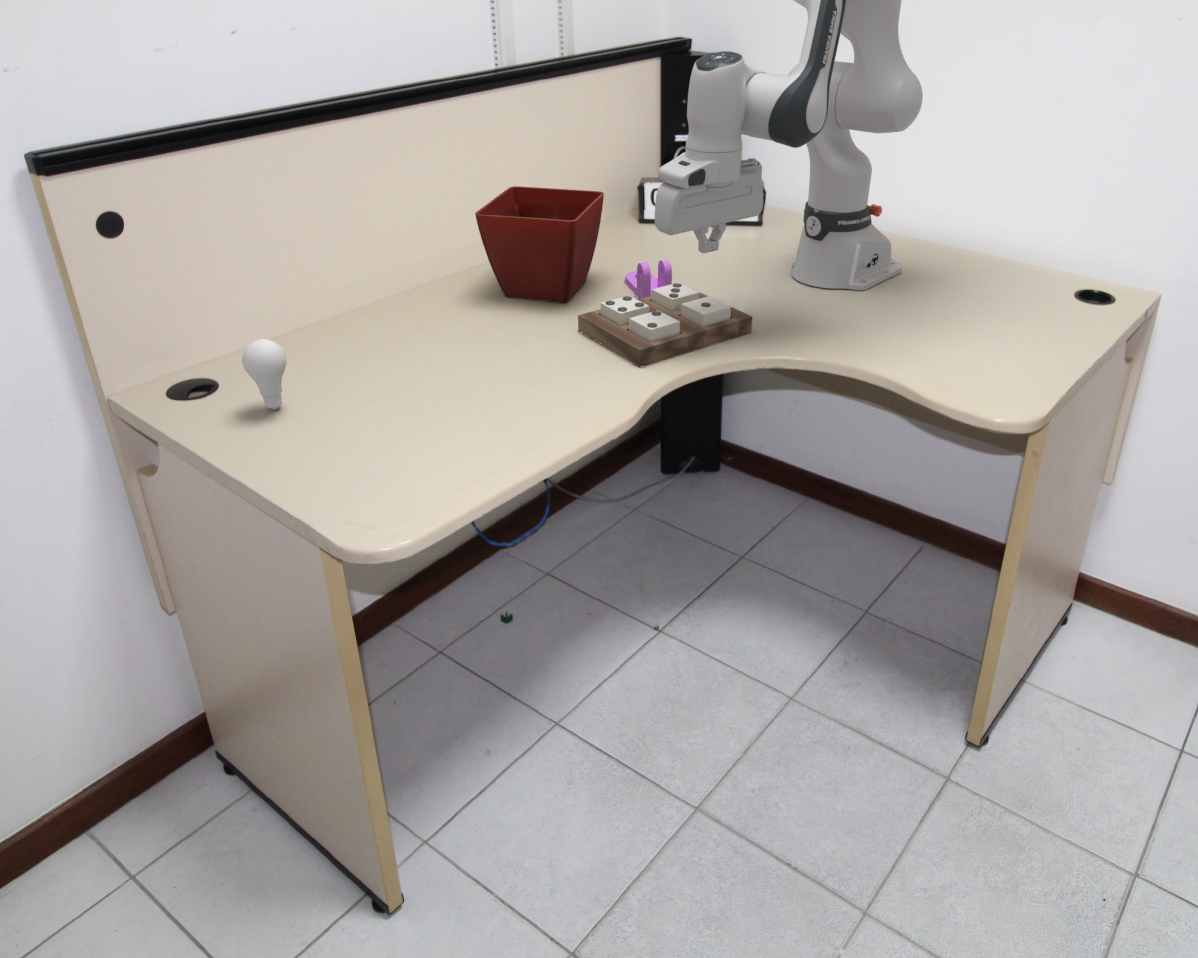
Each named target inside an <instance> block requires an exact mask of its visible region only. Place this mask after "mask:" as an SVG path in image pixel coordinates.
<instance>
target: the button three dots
mask: <svg viewBox="0 0 1198 958" xmlns="http://www.w3.org/2000/svg"><path fill="white" fill-rule="evenodd" d="M691 288H692V287H690V288H689V286H687V285H684V284H682V283H681V282H676V283H672V284H671V285H667V286H663V287H659V288H656V289H652V299H651V302H653V303H655V304H657V305H659V306H661V307H663V308H665V309H667V310H669V311H671V312H673V311H676V310H680V309H681V304H682V303H686V302H690V301H693V300H697V299H699V292H700V291H698V290H695V289H694V288H692V289H691ZM693 289H694V290H693Z"/></svg>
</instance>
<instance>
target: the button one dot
mask: <svg viewBox="0 0 1198 958" xmlns="http://www.w3.org/2000/svg"><path fill="white" fill-rule="evenodd" d="M707 296H708V297H704V298H700V299H697V300H693V301H690V302H686V303H682V304H681V317H683V318H685V319H687V320H689V321H691V322H693V323H695V324H697V325H699V326H701V327H705V326H708V325H712V324H715V323H718V322H722V321H725V320H729V319H730V313H731V307H732V306H731V305H729V306H728V304H726V303H724V302H722V301H720V300H718V299H716V300H715V298H714V297H711V296H709V295H707ZM717 300H718V301H717ZM719 301H720V302H719ZM730 306H731V307H730Z"/></svg>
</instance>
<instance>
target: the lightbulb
mask: <svg viewBox="0 0 1198 958" xmlns="http://www.w3.org/2000/svg"><path fill="white" fill-rule="evenodd" d="M241 363H242V367H243V369H244V371H245V372H246V373H247V374H248V376H249V377H250V378H251V379H252V380H253V381H254V383H255V384H256V386H257V388H258V390H259V393H260V395H261V396H262V399H263V403H264V406H265V408H267V409H270V410H273V411H274V410H277V409H279V408H280V407H281V406H282V405H283V396H282V392H283V386H282V385H283V384H282V380H283V376H284V373H285V370H286V367H287V356H286V353H285V350H284V349H283V347H282V346H281V345H279V343H277V342H275V341H274V340H271V339H266V338H261V339H255V340H254V341H252V342H250V343H249V344H248V345H247V346H246V347H245V348H244V350H243V353H242V356H241Z"/></svg>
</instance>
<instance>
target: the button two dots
mask: <svg viewBox="0 0 1198 958" xmlns="http://www.w3.org/2000/svg"><path fill="white" fill-rule="evenodd" d="M629 331H630V332H632V333H633V334H635V335H637V336H639V337H641V338H642V339H644V340H646V341H648V342H650V343H651V342H654V341H657V340H661V339H664V338H668V337H671V336H674V335H678V334H680V321H678V320H676V319H674V318H672V317H670V316H668V315H666V314H664V313H662V312H660V311H658V310H657V311H653V312H650V313H646V314H643V315H639V316H635V317H632V318H629Z"/></svg>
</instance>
